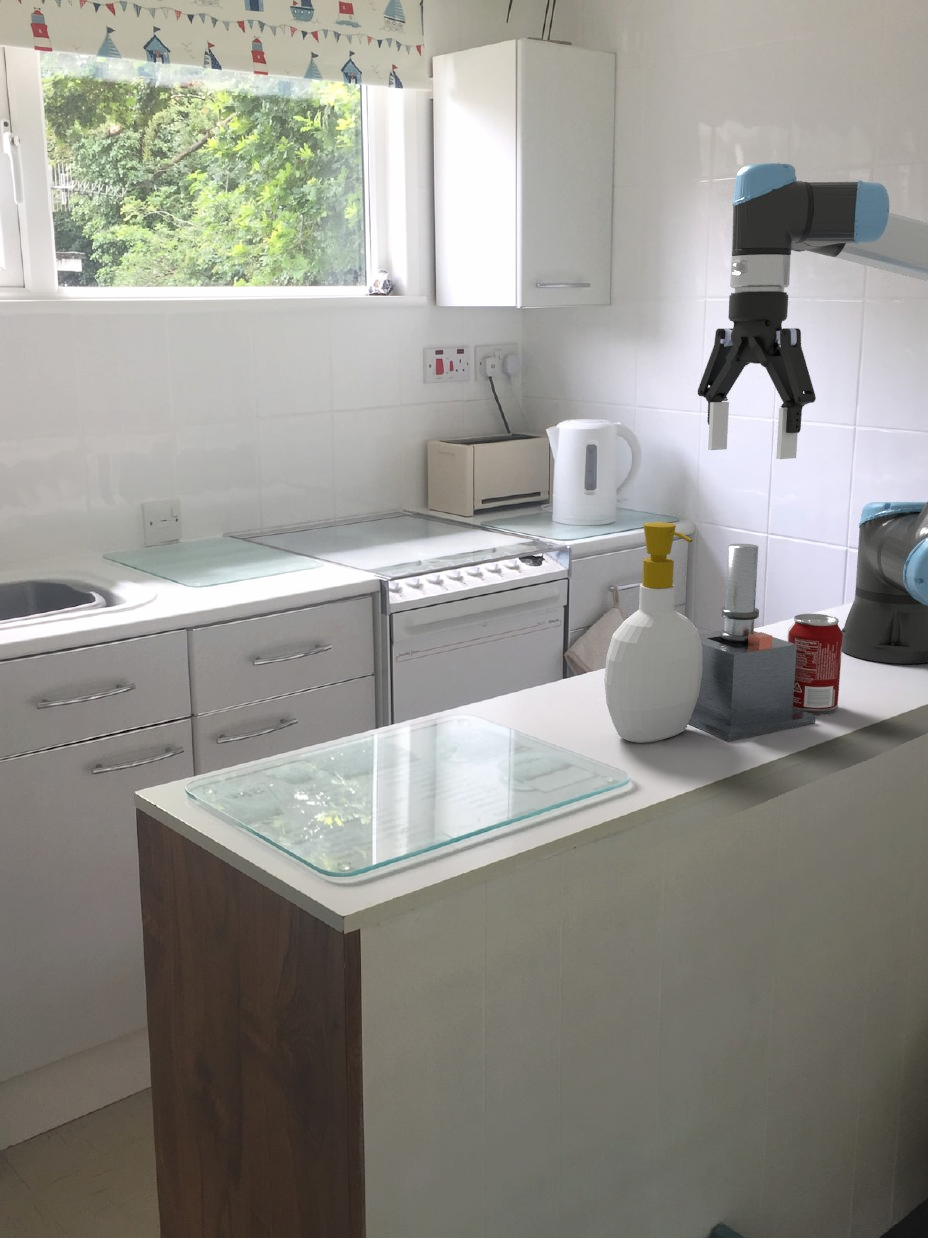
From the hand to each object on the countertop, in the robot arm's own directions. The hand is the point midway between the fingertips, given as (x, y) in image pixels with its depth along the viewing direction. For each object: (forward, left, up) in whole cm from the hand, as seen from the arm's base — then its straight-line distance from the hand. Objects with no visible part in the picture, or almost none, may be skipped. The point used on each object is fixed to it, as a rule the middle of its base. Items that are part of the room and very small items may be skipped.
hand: (750, 454), depth 163 cm
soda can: (+1, +15, -32) cm, 35 cm away
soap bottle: (+25, +14, -32) cm, 43 cm away
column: (+12, +13, -30) cm, 35 cm away
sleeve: (+12, +13, -32) cm, 36 cm away
